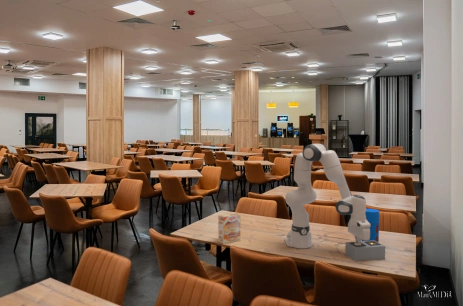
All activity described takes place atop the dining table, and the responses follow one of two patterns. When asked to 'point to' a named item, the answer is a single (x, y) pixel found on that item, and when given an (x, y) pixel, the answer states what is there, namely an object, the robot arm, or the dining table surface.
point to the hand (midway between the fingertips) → (358, 243)
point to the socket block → (365, 251)
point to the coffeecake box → (229, 228)
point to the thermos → (373, 224)
